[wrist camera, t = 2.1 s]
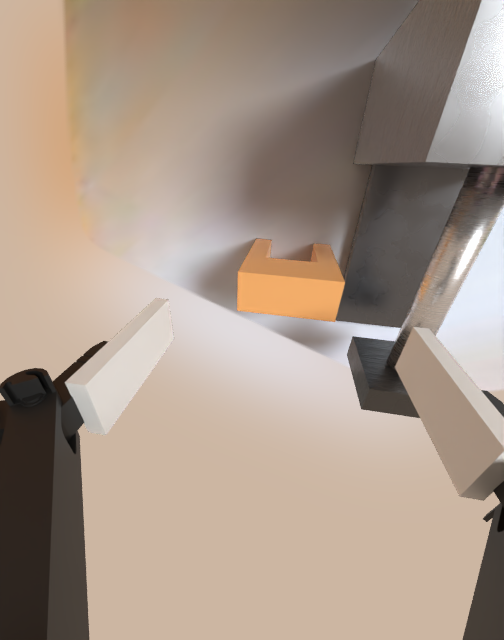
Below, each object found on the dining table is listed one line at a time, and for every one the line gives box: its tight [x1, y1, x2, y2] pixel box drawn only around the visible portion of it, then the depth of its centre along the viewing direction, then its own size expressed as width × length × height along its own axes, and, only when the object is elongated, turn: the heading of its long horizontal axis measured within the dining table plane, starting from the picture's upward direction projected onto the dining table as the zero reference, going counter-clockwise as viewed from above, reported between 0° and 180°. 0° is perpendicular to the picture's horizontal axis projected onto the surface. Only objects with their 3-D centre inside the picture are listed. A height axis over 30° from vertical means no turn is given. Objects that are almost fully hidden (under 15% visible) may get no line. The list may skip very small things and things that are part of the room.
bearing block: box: [336, 0, 504, 328], centre depth 16 cm, size 20×10×14 cm, turn 178°
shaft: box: [347, 167, 504, 418], centre depth 16 cm, size 15×6×6 cm, turn 178°
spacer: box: [237, 239, 345, 322], centre depth 21 cm, size 3×7×9 cm, turn 88°
